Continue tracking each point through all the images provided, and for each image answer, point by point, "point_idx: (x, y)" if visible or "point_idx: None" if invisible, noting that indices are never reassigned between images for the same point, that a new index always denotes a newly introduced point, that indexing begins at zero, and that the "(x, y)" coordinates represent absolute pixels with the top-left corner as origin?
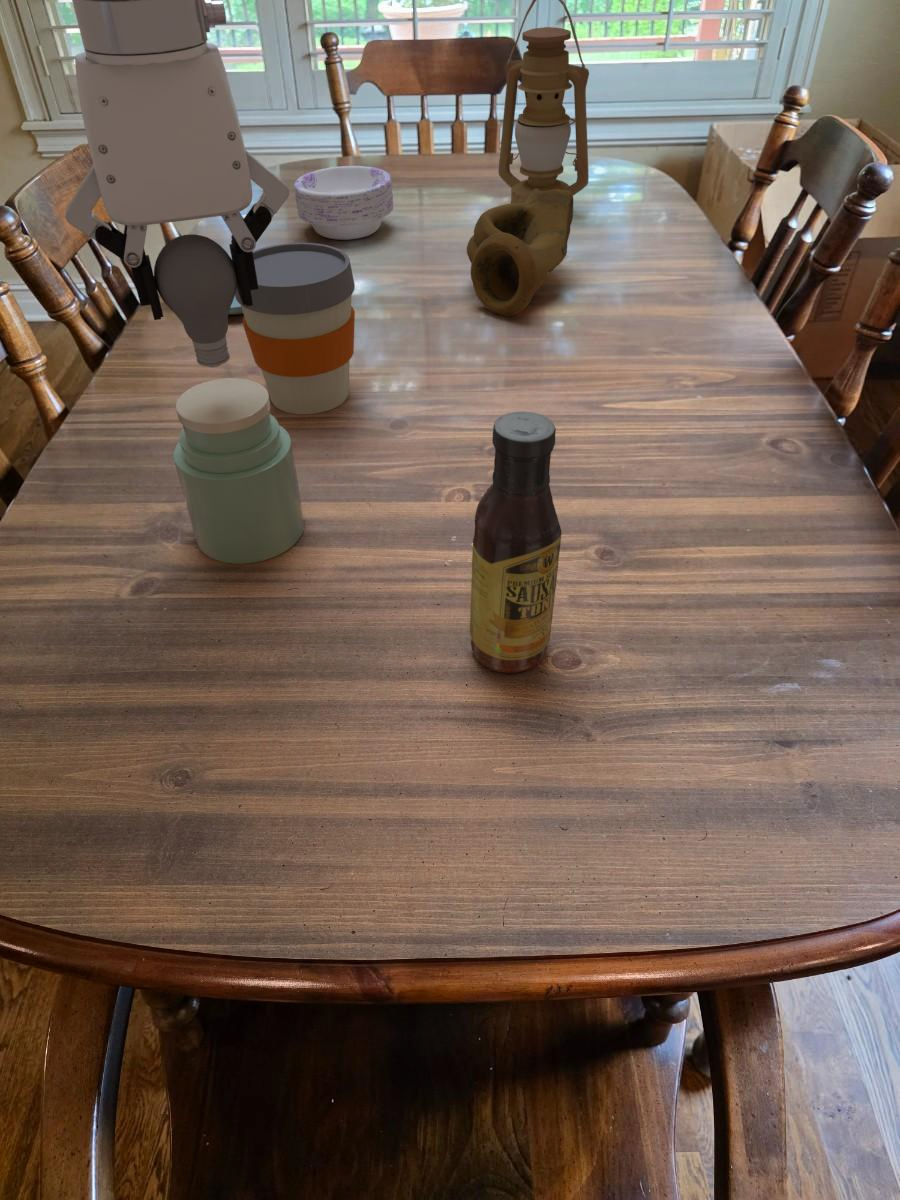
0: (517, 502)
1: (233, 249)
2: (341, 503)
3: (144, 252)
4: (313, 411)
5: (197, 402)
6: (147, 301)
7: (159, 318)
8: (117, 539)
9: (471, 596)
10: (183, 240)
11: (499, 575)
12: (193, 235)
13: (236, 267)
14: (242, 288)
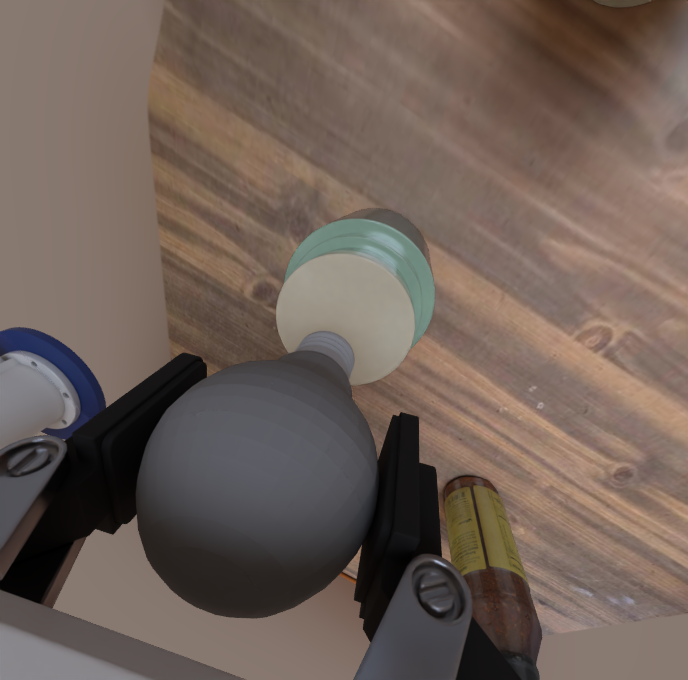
0: None
1: (371, 573)
2: (478, 278)
3: (82, 523)
4: (604, 3)
5: (307, 311)
6: None
7: None
8: (250, 205)
9: (453, 526)
10: (188, 600)
11: None
12: (226, 594)
13: (359, 566)
14: None
